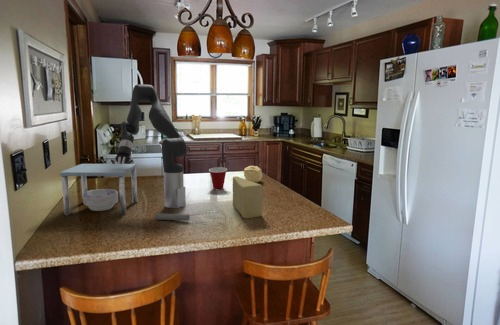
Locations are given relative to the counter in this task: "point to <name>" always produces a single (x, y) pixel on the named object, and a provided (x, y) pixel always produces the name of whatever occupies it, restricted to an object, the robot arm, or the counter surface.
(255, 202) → the beige rectangular block
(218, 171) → the plastic cup
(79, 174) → the small side table
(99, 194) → the paper bowls
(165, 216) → the kitchen whisk
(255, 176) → the beige textured ball
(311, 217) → the counter surface
